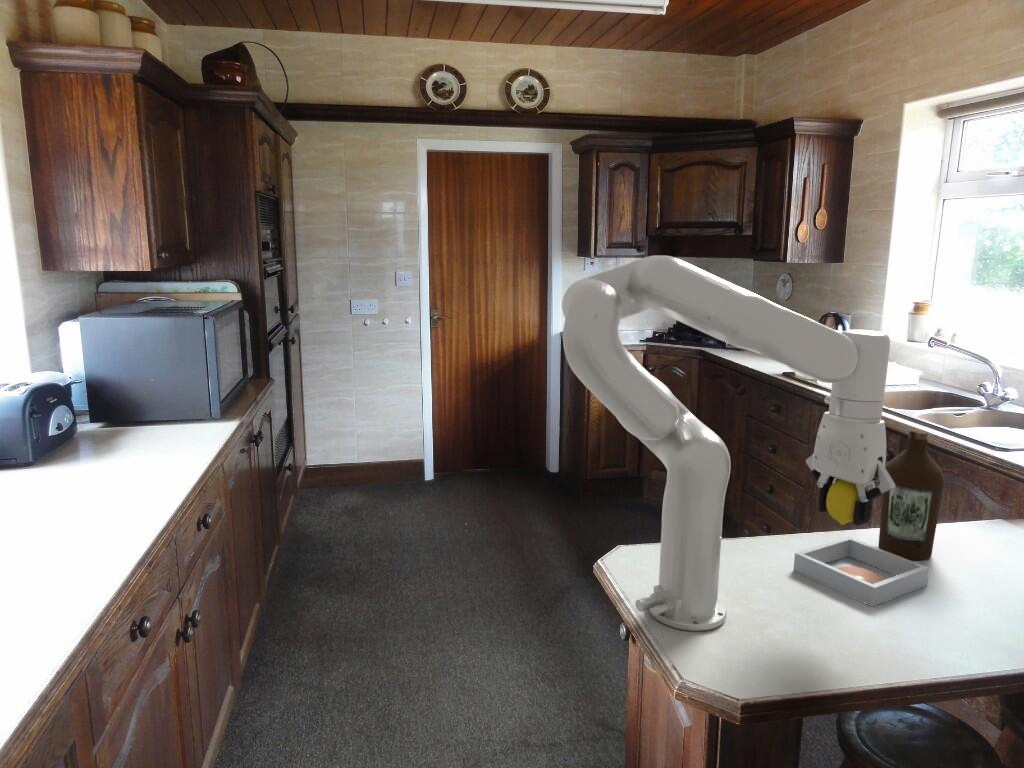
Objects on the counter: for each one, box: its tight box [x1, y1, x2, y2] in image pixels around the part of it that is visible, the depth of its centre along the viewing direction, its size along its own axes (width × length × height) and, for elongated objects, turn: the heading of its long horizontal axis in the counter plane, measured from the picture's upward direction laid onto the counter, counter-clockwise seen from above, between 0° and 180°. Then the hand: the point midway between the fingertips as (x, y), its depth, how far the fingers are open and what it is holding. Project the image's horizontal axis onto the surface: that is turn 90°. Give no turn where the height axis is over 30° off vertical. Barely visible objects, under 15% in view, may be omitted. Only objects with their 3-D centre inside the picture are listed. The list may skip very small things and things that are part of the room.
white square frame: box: [793, 536, 930, 607], centre depth 130 cm, size 16×16×4 cm
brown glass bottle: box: [878, 429, 945, 562], centre depth 140 cm, size 11×11×25 cm
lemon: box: [826, 479, 859, 526], centre depth 114 cm, size 6×6×8 cm
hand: (843, 515), depth 115 cm, fingers closed on lemon, 5 cm apart
